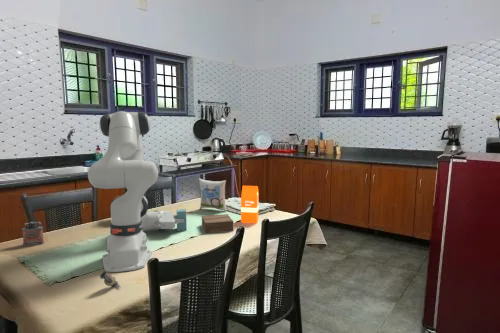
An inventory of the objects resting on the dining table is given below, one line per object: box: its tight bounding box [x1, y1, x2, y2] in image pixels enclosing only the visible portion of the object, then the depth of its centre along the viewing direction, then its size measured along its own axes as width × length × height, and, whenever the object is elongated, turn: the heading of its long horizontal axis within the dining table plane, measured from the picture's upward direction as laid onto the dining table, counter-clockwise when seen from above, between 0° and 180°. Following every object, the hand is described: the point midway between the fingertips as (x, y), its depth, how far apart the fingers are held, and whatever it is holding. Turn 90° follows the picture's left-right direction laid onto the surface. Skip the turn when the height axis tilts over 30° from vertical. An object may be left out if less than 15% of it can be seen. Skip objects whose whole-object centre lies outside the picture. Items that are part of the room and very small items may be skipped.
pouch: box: [198, 177, 228, 212], centre depth 208 cm, size 8×19×20 cm, turn 65°
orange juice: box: [240, 185, 260, 224], centre depth 185 cm, size 8×9×20 cm
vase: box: [99, 271, 121, 289], centre depth 108 cm, size 5×5×6 cm
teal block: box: [176, 208, 188, 232], centre depth 170 cm, size 4×4×10 cm
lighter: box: [21, 221, 45, 247], centre depth 147 cm, size 8×3×10 cm, turn 105°
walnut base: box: [201, 213, 234, 234], centre depth 173 cm, size 14×14×5 cm
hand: (183, 218), depth 170 cm, fingers closed on teal block, 4 cm apart
